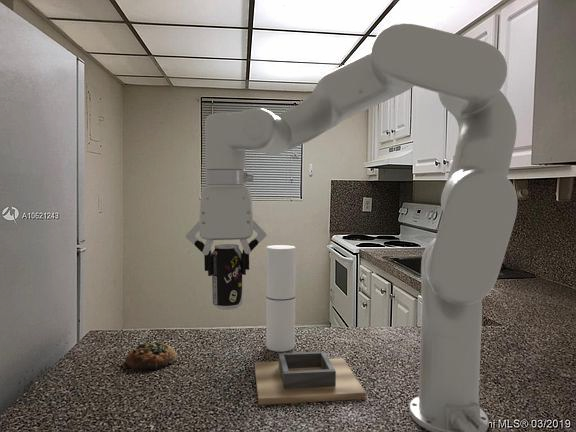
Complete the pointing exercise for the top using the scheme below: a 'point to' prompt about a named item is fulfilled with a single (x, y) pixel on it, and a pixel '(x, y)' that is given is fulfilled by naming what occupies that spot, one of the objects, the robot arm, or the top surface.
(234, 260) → the beverage can
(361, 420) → the top surface
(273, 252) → the cylindrical container
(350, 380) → the board
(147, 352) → the bread roll
